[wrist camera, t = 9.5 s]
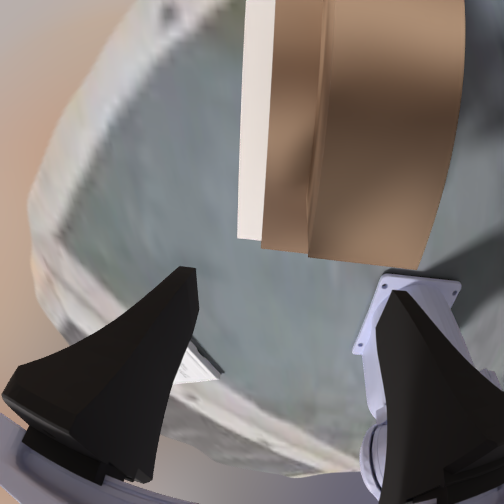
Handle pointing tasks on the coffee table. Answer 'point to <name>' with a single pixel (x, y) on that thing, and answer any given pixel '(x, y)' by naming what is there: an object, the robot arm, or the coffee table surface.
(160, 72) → the coffee table surface
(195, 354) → the external hard drive
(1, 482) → the robot arm
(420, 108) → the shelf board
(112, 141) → the coffee table surface
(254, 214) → the peg base
